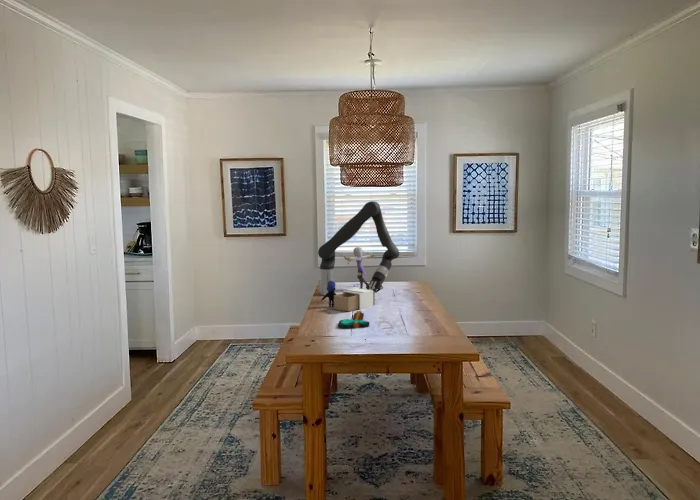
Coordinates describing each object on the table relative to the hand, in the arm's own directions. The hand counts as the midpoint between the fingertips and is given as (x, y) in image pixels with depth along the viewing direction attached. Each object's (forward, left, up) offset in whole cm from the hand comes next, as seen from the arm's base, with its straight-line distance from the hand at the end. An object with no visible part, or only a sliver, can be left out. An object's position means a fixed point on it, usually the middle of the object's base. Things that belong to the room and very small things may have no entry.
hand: (368, 297), depth 336 cm
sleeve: (0, -10, -4) cm, 10 cm away
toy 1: (-13, -19, -4) cm, 23 cm away
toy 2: (+23, -40, -5) cm, 46 cm away
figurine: (-34, +32, -4) cm, 47 cm away
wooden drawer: (0, -13, -4) cm, 13 cm away
